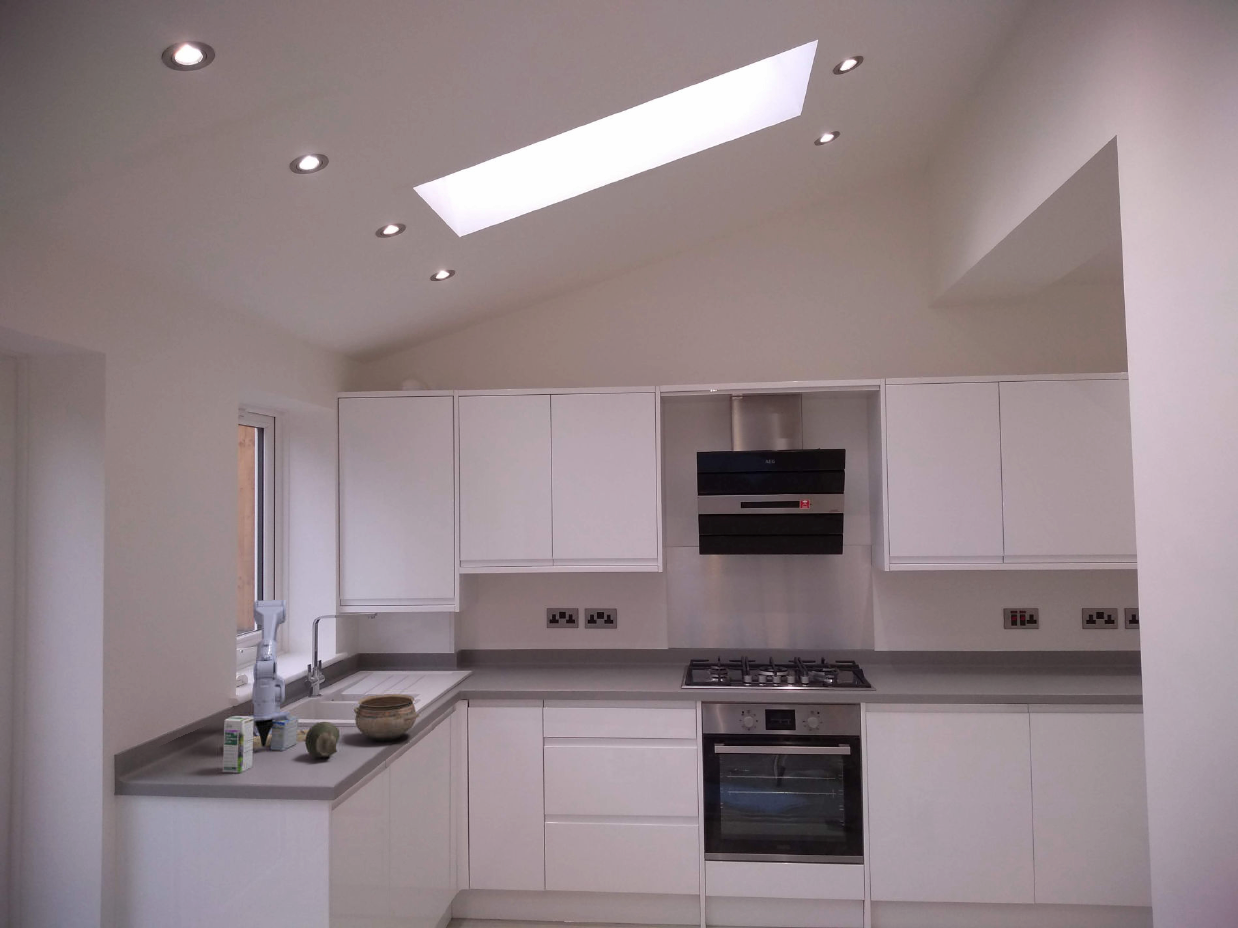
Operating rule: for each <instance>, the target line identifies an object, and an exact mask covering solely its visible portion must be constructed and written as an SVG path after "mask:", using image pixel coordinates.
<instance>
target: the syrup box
mask: <svg viewBox="0 0 1238 928" xmlns="http://www.w3.org/2000/svg"><path fill="white" fill-rule="evenodd" d="M246 716H247V715H246ZM246 716H244V715H243V716H241V715H235V716H229V718H228V717H227V718H226V719H224V723H223V724H224V726H223V741H224V748H223V757H222V758H223V759H222V761H223V762H222V773H232V774H233V773H237V774H241V773H244V772H245V771H247V770H249V769H251V768H252V767H253V754H254V753H253V749H254V748H253V737H254V732H253V728H254V723H253V720H254V716H253V717H246Z"/></svg>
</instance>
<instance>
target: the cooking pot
mask: <svg viewBox="0 0 1238 928" xmlns="http://www.w3.org/2000/svg"><path fill="white" fill-rule="evenodd" d="M414 701H415V697H414V696H412V695H407V694H401V693H400V694H398V693H393V694H392V693H390V694H389V693H388V694H387V693H386V694H377V695H370V696H367V697H363V698H361V699H359V700H358V701H357V703H358V705H359V706H356V707H354V708H353V711H354V713H355V718H354V720H355V721H354V722H355V726H356V728H357V729H358V731H360V732H361V733H362V734H364V736H367V737H368V738H371V739H373V740H375V741H376V740H377V741H376V742H391V741H395V740H396V739H397V738H399V737H401V736H402V735H404V734H405V733H407V732H409V731H410V730H411V728H413V726H414V725H415V723H416V720H417V718H419V717H420V714H419V713H417V711H416V707H415V705H414Z"/></svg>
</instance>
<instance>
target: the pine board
mask: <svg viewBox="0 0 1238 928" xmlns="http://www.w3.org/2000/svg"><path fill="white" fill-rule="evenodd" d="M308 731H309V729H303V730H302V729H301V730H298V731H297V743H298V742H305V739H306V735H307V732H308ZM271 735H272V734H269V735H268V737H267V740H266V745H265V746H262V745H261V738H260V736H253V749H256V748H261V747H262V748H263V747H268V746H269V747H271ZM222 742H223V743H222V748H223V749H224V740H223V741H222Z"/></svg>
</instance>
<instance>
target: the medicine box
mask: <svg viewBox="0 0 1238 928" xmlns="http://www.w3.org/2000/svg"><path fill="white" fill-rule="evenodd" d="M298 724H299V716H296V715H290V719H279V720H275V721H273V726H272V734H270V735H271V745H270V750H271V751H280V752H281V751H286V750H287V749H289V748H291V747H293V746H295V745H297V744H298V742H297V731H299V729H298V728H299V727H298V726H299V725H298Z"/></svg>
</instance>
